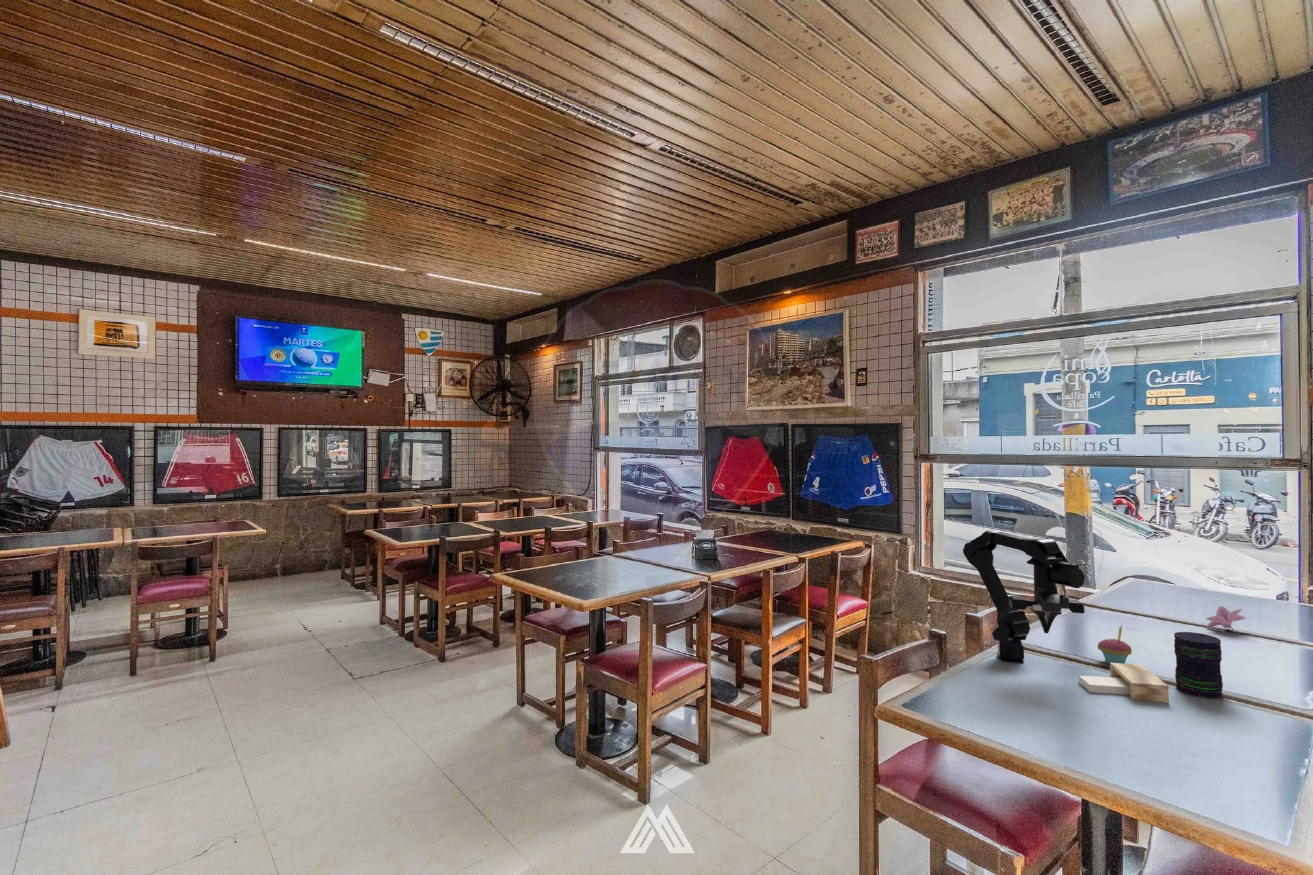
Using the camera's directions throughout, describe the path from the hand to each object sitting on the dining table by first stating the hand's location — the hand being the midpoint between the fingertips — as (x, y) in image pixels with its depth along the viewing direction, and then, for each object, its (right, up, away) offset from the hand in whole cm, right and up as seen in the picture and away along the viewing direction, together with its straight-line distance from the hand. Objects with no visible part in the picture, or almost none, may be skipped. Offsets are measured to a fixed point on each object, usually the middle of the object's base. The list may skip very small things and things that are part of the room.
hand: (1046, 632), depth 185 cm
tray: (+11, -12, -13) cm, 21 cm away
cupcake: (+26, -12, +7) cm, 29 cm away
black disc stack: (+32, -11, -16) cm, 37 cm away
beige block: (+17, -11, -14) cm, 25 cm away
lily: (+86, -11, +35) cm, 94 cm away
